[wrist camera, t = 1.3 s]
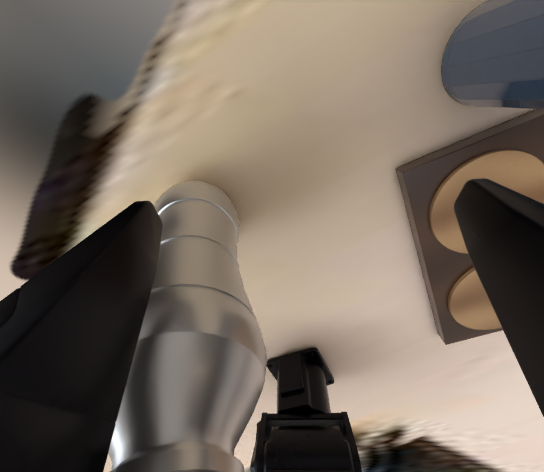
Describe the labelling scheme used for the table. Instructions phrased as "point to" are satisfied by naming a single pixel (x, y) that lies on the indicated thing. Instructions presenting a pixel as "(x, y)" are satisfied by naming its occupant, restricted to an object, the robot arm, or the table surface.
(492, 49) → the tumbler
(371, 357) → the table surface
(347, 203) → the table surface
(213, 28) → the table surface
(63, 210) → the table surface
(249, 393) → the silver metal bottle
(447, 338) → the coaster board
